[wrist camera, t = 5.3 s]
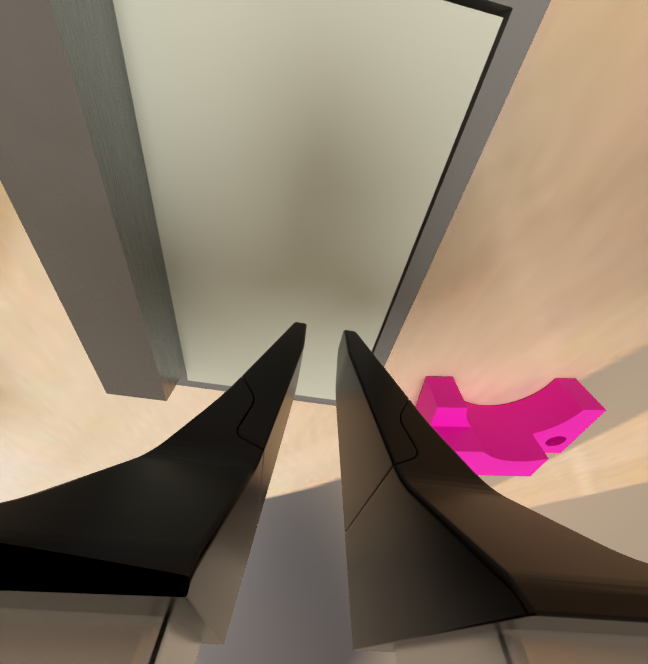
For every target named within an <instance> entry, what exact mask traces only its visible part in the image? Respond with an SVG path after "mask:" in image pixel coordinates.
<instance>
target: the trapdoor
mask: <svg viewBox="0 0 648 664" xmlns="http://www.w3.org/2000/svg"><path fill="white" fill-rule="evenodd" d="M502 20H503V17H499V16H496V15H492V14H489V13H485V12H482V11H478V10H475V9H471V8H468V7H464V6H461V5H458V4H454V3H451V2H447V1H444V0H0V180H1V182H2V184H3V186H4V188H5V190H6V192H7V194H8V196H9V198H10V200H11V202H12V204H13V206H14V208H15V210H16V213H17V215H18V217H19V219H20V221H21V223H22V225H23V227H24V229H25V231H26V233H27V235H28V237H29V239H30V241H31V243H32V245H33V247H34V249H35V251H36V253H37V255H38V257H39V259H40V261H41V263H42V265H43V267H44V269H45V271H46V273H47V275H48V277H49V279H50V281H51V283H52V285H53V287H54V289H55V291H56V293H57V295H58V297H59V299H60V301H61V303H62V305H63V307H64V309H65V311H66V313H67V315H68V317H69V319H70V321H71V323H72V325H73V327H74V329H75V331H76V333H77V335H78V337H79V339H80V341H81V343H82V345H83V347H84V349H85V351H86V353H87V355H88V357H89V359H90V361H91V363H92V365H93V367H94V369H95V371H96V373H97V375H98V377H99V379H100V381H101V383H102V385H103V387H104V389H105V391H106V393H108V394H116V395H123V396H131V397H139V398H147V399H155V400H163V401H167V399H168V398H169V396H170V394H171V393H172V391H173V389H174V388H175V386H176V384H177V383H178V381H179V379H180V378H181V376H182V374H183V373H184V371H185V369H186V373H187V379H188V380H189V381H196V382H204V383H211V384H219V385H226V386H232V385H233V384H234V383H235V382H236V381H237V380H238V379H239V378H240V377H242V375H243V374H244V373H245V372H246V371H247V370H248V369H249V368H250V367H251V366H252V365H253V364H254V363H255V362H256V361H257V360H258V359H259V358H260V357H261V356H262V355H263V354H264V353H265V352H266V351H267V350H268V349H269V348H270V347H271V346H272V345H273V344H274V343H275V342H276V341H277V340H278V339H279V338H280V337H281V336H282V335H283V334H284V333H285V332H286V331H287V329H288V328H289V327H290V326H291V325H292V324H293V323H294V322H300V323H306V325H307V328H306V337H305V345H304V350H303V356H302V361H301V367H300V372H299V378H298V383H297V388H296V392H295V395H301V396H308V397H316V398H323V399H331V400H336V371H337V355H338V348H339V344H340V341H341V337H342V334H343V331H344V330H350V331H355V332H356V333H357V334H358V335H359V336H360V338H361V339H362V340H363V341H364V343H365V344H366V345H367V347H368V348H369V349H370V350H371V352H372V349H373V347H374V344H375V341H376V339H377V336H378V334H379V331H380V329H381V326H382V324H383V321H384V319H385V316H386V314H387V311H388V309H389V306H390V304H391V301H392V298H393V296H394V293H395V291H396V288H397V286H398V283H399V281H400V278H401V276H402V273H403V271H404V268H405V266H406V263H407V261H408V258H409V255H410V253H411V250H412V248H413V245H414V243H415V240H416V238H417V235H418V233H419V230H420V228H421V225H422V223H423V220H424V217H425V215H426V212H427V210H428V207H429V205H430V202H431V200H432V197H433V195H434V192H435V190H436V187H437V185H438V182H439V180H440V177H441V174H442V172H443V169H444V167H445V164H446V162H447V159H448V157H449V154H450V152H451V149H452V147H453V144H454V142H455V139H456V137H457V134H458V131H459V129H460V126H461V124H462V121H463V119H464V116H465V114H466V111H467V109H468V106H469V104H470V101H471V99H472V96H473V93H474V91H475V88H476V86H477V83H478V81H479V78H480V76H481V73H482V71H483V68H484V66H485V63H486V61H487V58H488V56H489V53H490V50H491V48H492V45H493V43H494V40H495V38H496V35H497V33H498V30H499V28H500V25H501V23H502Z"/></svg>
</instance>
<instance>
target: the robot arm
mask: <svg viewBox="0 0 648 664" xmlns="http://www.w3.org/2000/svg"><path fill="white" fill-rule="evenodd" d="M306 328H307V325H306V323H300V322H294V323H293V324H292V325H291V326H290V327H289V328H288V329H287V331H286V332H285V333H284V334H283V335H282V336H281V337H280V338H279V339H278V340H277V341H276V342H275V343H274V344H273V345H272V346H271V347H270V348H269V349H268V350H267V351H266V352H265V353H264V354H263V355H262V356H261V357H260V358H259V359H258V360H257V361H256V362H255V363H254V364H253V365H252V366H251V367H250V368H249V369H248V370H247V371H246V372H245V373H244V374H243V375H242V377H240V378H239V379H238V380H237V381H236V382H235V383H234V384H233V385H232V386H231V387H230V388H229V389H228V390H227V391H226V392H225V393H224V394H223V395H222V396H221V397H219V398H218V399H217V400H216V401H215V402H213V403H212V404H211V405H210V406H209V407H207V408H206V409H205V410H204V411H202V412H201V413H200V414H199V415H197V416H196V417H195V418H194V419H192V420H191V421H190V422H189V423H187V424H186V425H185V426H184V427H182V428H181V429H180V430H179V431H177V432H176V433H175V434H174V435H172V436H171V437H170V438H169V439H167V440H166V441H165V442H163V443H162V444H161V445H159V446H157V447H156V448H154V449H153V450H151V451H149V452H148V453H146V454H144V455H142V456H140V457H137V458H135V459H132V460H129V461H126V462H124V463H121V464H118V465H115V466H112V467H109V468H106V469H104V470H101V471H98V472H95V473H92V474H89V475H86V476H83V477H81V478H78V479H75V480H72V481H69V482H66V483H63V484H61V485H58V486H55V487H52V488H49V489H46V490H43V491H40V492H38V493H35V494H31V495H28V496H25V497H22V498H18V499H15V500H10V501H6V502H1V503H0V664H195V663H196V659H197V655H198V651H199V647H200V643H205V644H224V642H225V638H226V635H227V631H228V628H229V624H230V621H231V617H232V613H233V610H234V606H235V603H236V599H237V596H238V592H239V589H240V585H241V582H242V578H243V574H244V571H245V568H246V564H247V561H248V557H249V554H250V550H251V547H252V543H253V540H254V536H255V532H256V529H257V524H258V521H259V518H260V515H261V511H262V508H263V504H264V501H265V497H266V494H267V490H268V487H269V483H270V480H271V476H272V473H273V469H274V466H275V462H276V458H277V455H278V451H279V448H280V444H281V441H282V437H283V434H284V430H285V427H286V423H287V420H288V416H289V413H290V409H291V406H292V402H293V399H294V395H295V392H296V388H297V383H298V378H299V372H300V367H301V361H302V356H303V350H304V345H305V337H306ZM336 408H337V423H338V437H339V452H340V467H341V482H342V496H343V511H344V526H345V532H346V533H345V542H346V557H347V571H348V586H349V601H350V616H351V630H352V644H353V650H359V651H380V652H381V651H382V652H395V660H396V664H648V563H645V562H642V561H639V560H636V559H633V558H631V557H628V556H626V555H623V554H621V553H618V552H616V551H614V550H612V549H610V548H608V547H606V546H603V545H601V544H599V543H597V542H595V541H593V540H591V539H589V538H587V537H585V536H583V535H581V534H579V533H577V532H575V531H573V530H571V529H569V528H567V527H565V526H563V525H561V524H559V523H557V522H555V521H553V520H551V519H549V518H547V517H545V516H543V515H540V514H539V513H537V512H535V511H533V510H530V509H528V508H526V507H524V506H522V505H520V504H518V503H516V502H514V501H512V500H510V499H508V498H506V497H505V496H503V495H501V494H500V493H498V492H496V491H495V490H494V489H492V488H491V487H490V486H488V485H487V484H486V483H485V482H484V481H483V480H482V479H481V478H480V477H479V476H478V475H477V474H476V473H475V472H474V471H473V470H472V469H471V468H470V467H469V466H468V465H467V464H466V463H465V462H464V461H463V460H462V459H461V457H460V456H459V455H458V454H457V453H456V452H455V451H454V450H453V449H452V448H451V447H450V446H449V445H448V444H447V443H446V442H445V440H444V439H443V438H442V437H441V436H440V435H439V434H438V433H437V432H436V431H435V430H434V428H433V427H432V426H431V425H430V424H429V423H428V422H427V421H426V419H425V418H424V417H423V416H422V415H421V413H420V412H419V411H418V410H417V408H416V407H415V406H414V405H413V403H412V402H411V401H410V400H409V399H408V397H407V396H406V395H405V393H404V392H403V391H402V390H401V388H400V387H399V386H398V385H397V383H396V382H395V381H394V379H393V378H392V377H391V376H390V374H389V373H388V372H387V371H386V369H385V368H384V367H383V366H382V364H381V363H380V362H379V360H378V359H377V358H376V357H375V355H374V354H373V353H372V352H371V350H370V349H369V348H368V347H367V345H366V344H365V343H364V341H363V340H362V339H361V338H360V336H359V335H358V334H357V333H356V332H355V331H350V330H344V331H343V334H342V337H341V341H340V344H339V348H338V355H337V371H336Z"/></svg>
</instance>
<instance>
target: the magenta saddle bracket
mask: <svg viewBox="0 0 648 664" xmlns="http://www.w3.org/2000/svg"><path fill="white" fill-rule="evenodd" d="M416 408H417V410H418V411H419V412H420V413H421V415H422V416H423V417H424V418H425V419H426V421H427V422H428V423H429V424H430V425H431V426H432V427H433V428H434V430H435V431H436V432H437V433H438V434H439V435H440V436H441V437H442V438H443V439H444V440H445V442H446V443H447V444H448V445H449V446H450V447H451V448H452V449H453V450H454V451H455V452H456V453H457V454H458V455H459V456H460V457H461V459H462V460H463V461H464V462H465V463H466V464H467V465H468V466H469V467H470V468H471V469H472V470H473V471H474V472H475V473H476V474H477V475H494V476H531V475H532V474H533V473H534V472H535V471H536V470H537V469H538V468H539V467H540V466H541V465H543V464H544V463H545V462H546V461H547V460H548V457H547V456H546V454H545V452H546V453H561V452H562V451H563V450H564V449H565V448H566V447H567V446H568V445H570V444H571V443H572V442H573V441H574V440H575V439H576V438H577V437H578V436H579V435H580V434H581V433H582V432H584V431H585V429H586V428H588V427H589V426H590V425H591V424H592V423H593V422H594V421H595V420H596V419H597V418H598V417H600V415H602V414H603V413H604V412H605V411H606V410H605V408H604V407H603V406H602V405H601V404H600V403H599V402H598V401H597V400H596V399H595V398H594V397H593V396H592V395H591V394H590V393H589V392H588V391H587V390H586V389H585V388H584V387H583V386H582V385H581V384H580V383H579V381H578V380H577V379H559V378H555V379H554V380H553V381H552V382H551V383H550V384H549V385H548V386H546V387H545V388H543V389H542V390H540V391H539V392H537V393H535V394H533V395H531V396H529V397H527V398H524V399H522V400H519V401H516V402H512V403H508V404H503V405H496V406H481V405H475V404H471V403H468V402H466V401H464V399H463V397H462V395H461V393H460V391H459V389H458V387H457V385H456V383H455V381H454V379H453V377H426V378H425V381H424V384H423V387H422V390H421V393H420V396H419V399H418V402H417V405H416Z"/></svg>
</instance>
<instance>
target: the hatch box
mask: <svg viewBox="0 0 648 664" xmlns="http://www.w3.org/2000/svg"><path fill="white" fill-rule="evenodd" d="M444 1H447V2H451V3H454V4H458V5H461V6H464V7H468V8H471V9H475V10H478V11H482V12H485V13H489V14H492V15H496V16H499V17H503V20H502V23H501V25H500V28H499V30H498V33H497V35H496V38H495V40H494V43H493V45H492V48H491V50H490V53H489V56H488V58H487V61H486V63H485V66H484V68H483V71H482V73H481V76H480V78H479V81H478V83H477V86H476V88H475V91H474V93H473V96H472V99H471V101H470V104H469V106H468V109H467V111H466V114H465V116H464V119H463V121H462V124H461V126H460V129H459V131H458V134H457V137H456V139H455V142H454V144H453V147H452V149H451V152H450V154H449V157H448V159H447V162H446V164H445V167H444V169H443V172H442V174H441V177H440V180H439V182H438V185H437V187H436V190H435V192H434V195H433V197H432V200H431V202H430V205H429V207H428V210H427V212H426V215H425V217H424V220H423V223H422V225H421V228H420V230H419V233H418V235H417V238H416V240H415V243H414V245H413V248H412V250H411V253H410V255H409V258H408V261H407V263H406V266H405V268H404V271H403V273H402V276H401V278H400V281H399V283H398V286H397V288H396V291H395V293H394V296H393V298H392V301H391V304H390V306H389V309H388V311H387V314H386V316H385V319H384V321H383V324H382V326H381V329H380V331H379V334H378V336H377V339H376V341H375V344H374V347H373V349H372V353H373V354H374V355H375V357H376V358H377V359H378V360H379V362H380V363H381V364H382V366H383V367H384V366H385V363H386V361H387V359H388V357H389V355H390V352H391V350H392V348H393V346H394V344H395V341H396V339H397V337H398V335H399V333H400V330H401V328H402V326H403V324H404V322H405V319H406V317H407V315H408V313H409V311H410V308H411V306H412V304H413V302H414V300H415V297H416V295H417V293H418V291H419V289H420V287H421V284H422V282H423V280H424V278H425V276H426V273H427V271H428V269H429V267H430V265H431V262H432V260H433V258H434V256H435V254H436V251H437V249H438V247H439V245H440V243H441V240H442V238H443V236H444V234H445V232H446V229H447V227H448V225H449V223H450V221H451V218H452V216H453V214H454V212H455V210H456V208H457V205H458V203H459V201H460V199H461V197H462V194H463V192H464V190H465V188H466V186H467V183H468V181H469V179H470V177H471V175H472V172H473V170H474V168H475V166H476V164H477V161H478V159H479V157H480V155H481V153H482V150H483V148H484V146H485V144H486V142H487V139H488V137H489V135H490V133H491V131H492V128H493V126H494V124H495V122H496V120H497V118H498V115H499V113H500V111H501V109H502V107H503V104H504V102H505V100H506V98H507V96H508V93H509V91H510V89H511V87H512V85H513V82H514V80H515V78H516V76H517V74H518V71H519V69H520V67H521V65H522V63H523V60H524V58H525V56H526V54H527V52H528V49H529V47H530V45H531V43H532V41H533V39H534V36H535V34H536V32H537V30H538V28H539V25H540V23H541V21H542V19H543V17H544V14H545V12H546V10H547V8H548V6H549V3H550V1H551V0H444ZM176 385H182V386H190V387H198V388H205V389H213V390H220V391H227V390H228V389H229V388H230V387H231V386H226V385H219V384H211V383H204V382H196V381H189V380H188V379H187V373H186V369H185V371H184V373H183V374H182V376H181V378H180V379H179V381H178V383H177V384H176ZM293 400H296V401H304V402H312V403H319V404H327V405H334V406H336V400H331V399H323V398H316V397H308V396H301V395H294V399H293Z"/></svg>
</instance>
